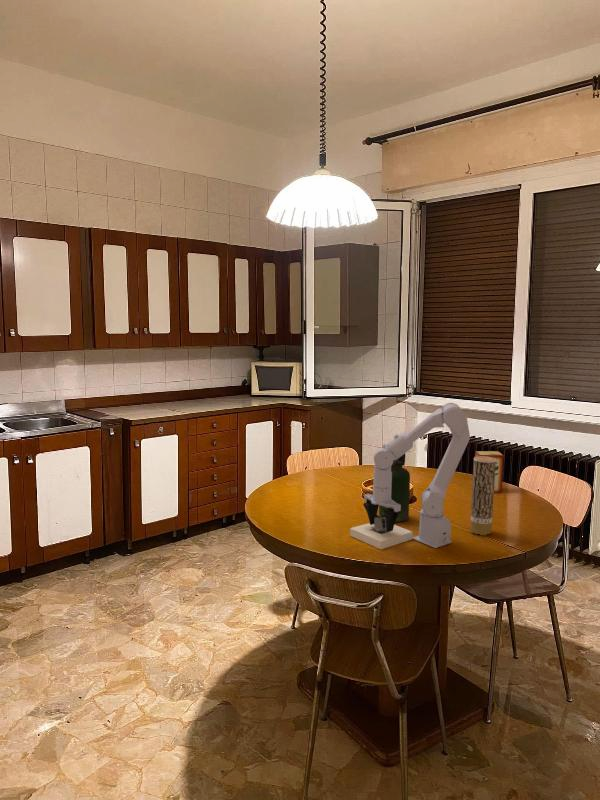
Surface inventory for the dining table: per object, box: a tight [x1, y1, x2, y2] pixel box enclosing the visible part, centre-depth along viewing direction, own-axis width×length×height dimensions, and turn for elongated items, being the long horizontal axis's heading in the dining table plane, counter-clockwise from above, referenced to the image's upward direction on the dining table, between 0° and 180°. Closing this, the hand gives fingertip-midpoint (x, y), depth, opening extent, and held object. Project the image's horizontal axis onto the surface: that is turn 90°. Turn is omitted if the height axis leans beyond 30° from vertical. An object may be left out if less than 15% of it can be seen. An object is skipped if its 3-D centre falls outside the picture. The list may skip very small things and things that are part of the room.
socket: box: [349, 522, 414, 550], centre depth 194 cm, size 14×14×2 cm
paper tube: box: [469, 456, 496, 536], centre depth 197 cm, size 7×7×25 cm
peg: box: [374, 514, 387, 534], centre depth 193 cm, size 4×4×7 cm
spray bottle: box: [378, 453, 411, 523], centre depth 211 cm, size 10×10×25 cm
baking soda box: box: [474, 450, 505, 494], centre depth 245 cm, size 10×6×16 cm
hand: (381, 527), depth 193 cm, fingers open, 7 cm apart
